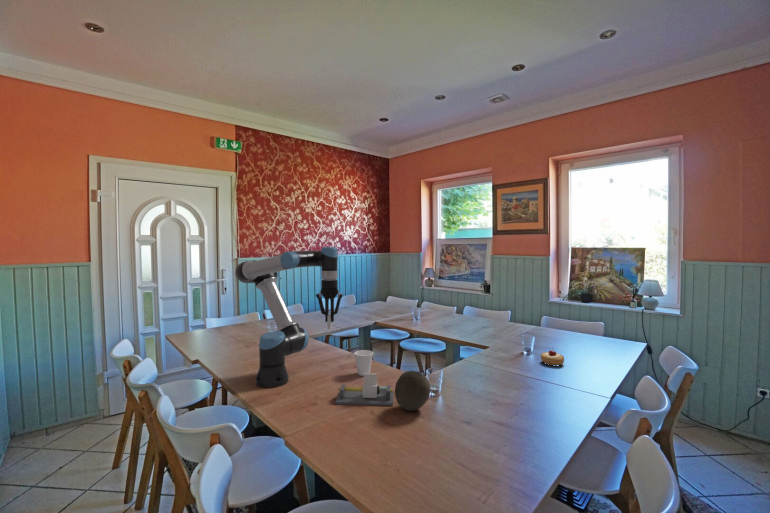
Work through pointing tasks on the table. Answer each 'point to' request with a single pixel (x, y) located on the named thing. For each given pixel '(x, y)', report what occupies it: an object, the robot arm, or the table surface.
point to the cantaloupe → (412, 390)
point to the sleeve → (370, 385)
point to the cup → (363, 361)
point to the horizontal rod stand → (356, 398)
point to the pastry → (552, 358)
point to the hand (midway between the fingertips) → (329, 328)
